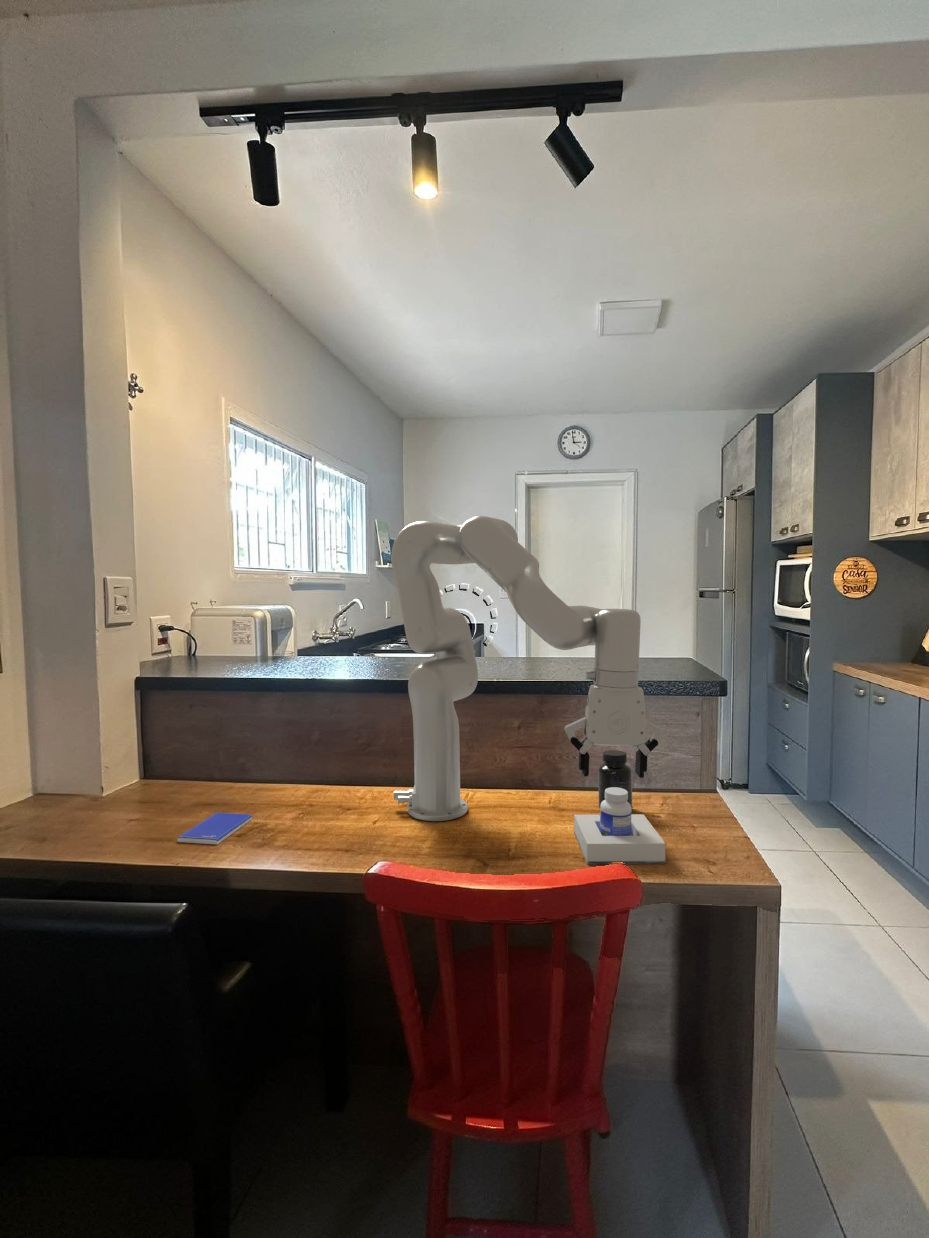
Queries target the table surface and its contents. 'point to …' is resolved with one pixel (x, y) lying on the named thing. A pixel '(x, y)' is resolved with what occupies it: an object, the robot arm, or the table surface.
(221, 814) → the hard drive
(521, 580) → the robot arm
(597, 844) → the housing
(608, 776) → the supplement bottle
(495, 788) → the table surface
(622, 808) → the pill bottle
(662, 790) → the table surface
